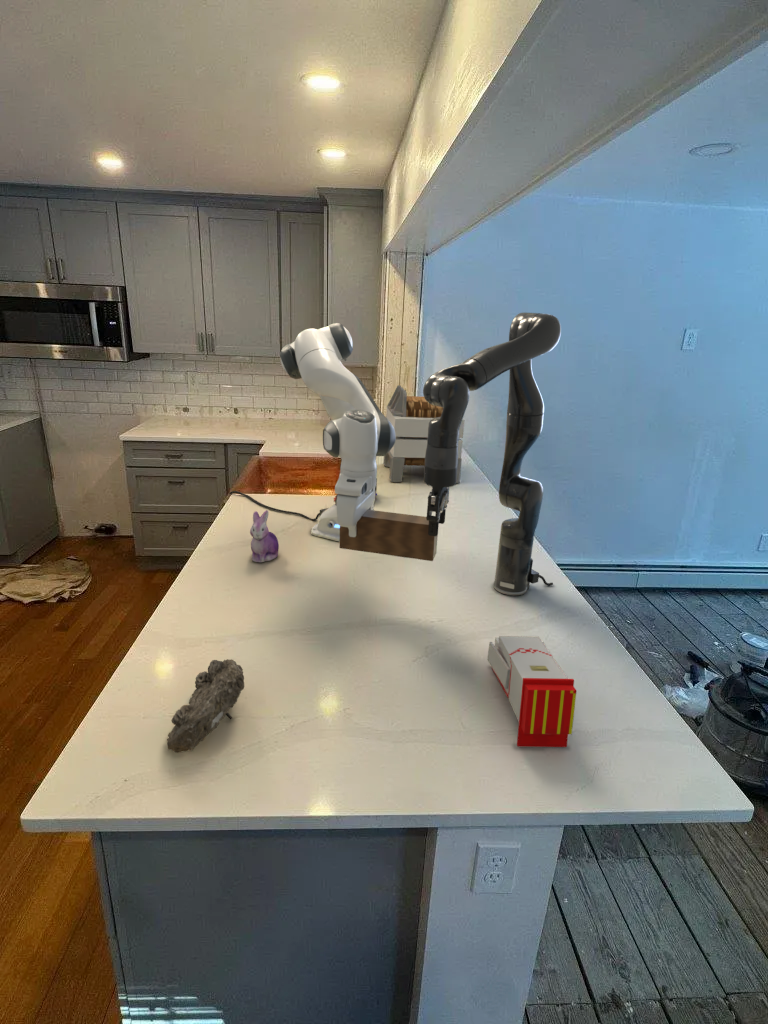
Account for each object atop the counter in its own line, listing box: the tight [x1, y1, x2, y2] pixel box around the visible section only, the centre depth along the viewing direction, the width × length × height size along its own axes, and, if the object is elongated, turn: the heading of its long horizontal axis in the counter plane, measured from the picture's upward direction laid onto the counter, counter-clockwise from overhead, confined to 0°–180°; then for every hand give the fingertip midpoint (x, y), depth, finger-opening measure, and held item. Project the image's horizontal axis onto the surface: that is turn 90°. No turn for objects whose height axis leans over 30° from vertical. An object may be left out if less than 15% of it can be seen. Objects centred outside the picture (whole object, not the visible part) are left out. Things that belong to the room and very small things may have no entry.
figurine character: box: [375, 478, 378, 500], centre depth 233 cm, size 7×8×15 cm
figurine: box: [249, 509, 280, 563], centre depth 174 cm, size 9×10×15 cm
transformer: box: [383, 384, 465, 484], centre depth 268 cm, size 34×33×41 cm
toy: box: [486, 635, 577, 748], centre depth 115 cm, size 12×13×30 cm
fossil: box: [166, 658, 245, 754], centre depth 106 cm, size 22×10×15 cm
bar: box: [339, 509, 439, 562], centre depth 140 cm, size 24×5×9 cm, turn 75°
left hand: (357, 531), depth 142 cm, fingers closed on bar, 5 cm apart
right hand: (436, 529), depth 136 cm, fingers open, 8 cm apart
